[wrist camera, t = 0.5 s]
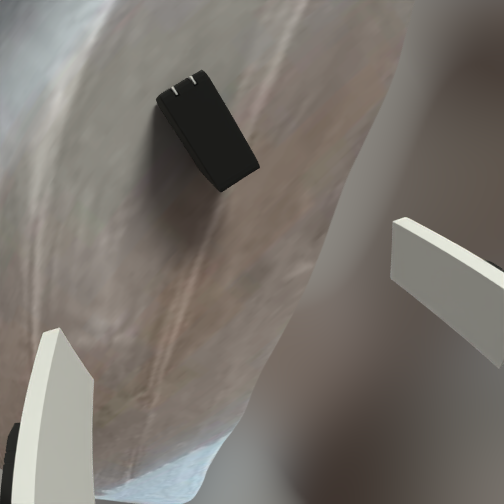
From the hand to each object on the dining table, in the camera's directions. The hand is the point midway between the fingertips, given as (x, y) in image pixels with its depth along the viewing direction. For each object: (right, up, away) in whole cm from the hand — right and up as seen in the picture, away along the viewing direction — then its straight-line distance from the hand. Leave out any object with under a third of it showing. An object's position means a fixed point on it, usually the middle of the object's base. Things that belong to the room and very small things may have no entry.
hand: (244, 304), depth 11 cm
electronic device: (-6, +15, +22) cm, 28 cm away
